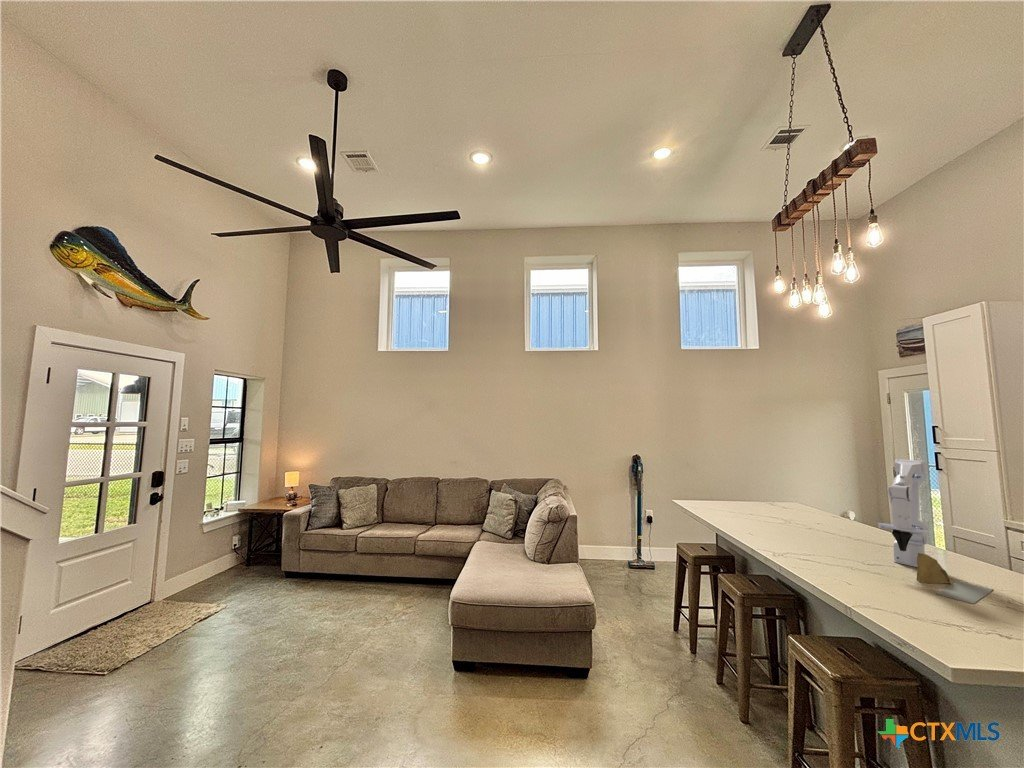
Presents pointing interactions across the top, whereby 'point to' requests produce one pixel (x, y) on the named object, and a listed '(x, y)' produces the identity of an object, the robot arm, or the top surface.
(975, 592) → the mat
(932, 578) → the rock
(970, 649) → the top surface
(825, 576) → the top surface
